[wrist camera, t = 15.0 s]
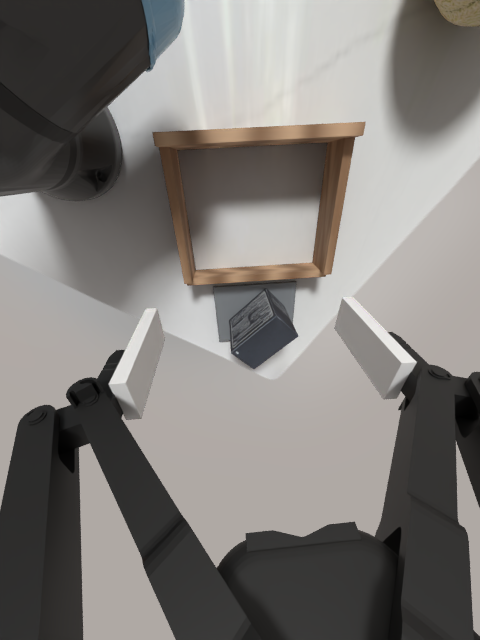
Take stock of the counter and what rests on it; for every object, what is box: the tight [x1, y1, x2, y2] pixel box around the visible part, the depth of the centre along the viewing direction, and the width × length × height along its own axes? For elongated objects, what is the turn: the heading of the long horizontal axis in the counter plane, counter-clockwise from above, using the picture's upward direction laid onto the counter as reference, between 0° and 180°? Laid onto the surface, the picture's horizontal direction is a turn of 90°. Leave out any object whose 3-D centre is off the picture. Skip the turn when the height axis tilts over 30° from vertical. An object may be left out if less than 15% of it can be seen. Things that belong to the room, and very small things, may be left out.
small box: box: [229, 288, 298, 369], centre depth 44 cm, size 11×6×10 cm, turn 134°
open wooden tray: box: [152, 122, 365, 286], centre depth 35 cm, size 24×20×8 cm
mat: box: [213, 281, 296, 342], centre depth 49 cm, size 16×13×1 cm
